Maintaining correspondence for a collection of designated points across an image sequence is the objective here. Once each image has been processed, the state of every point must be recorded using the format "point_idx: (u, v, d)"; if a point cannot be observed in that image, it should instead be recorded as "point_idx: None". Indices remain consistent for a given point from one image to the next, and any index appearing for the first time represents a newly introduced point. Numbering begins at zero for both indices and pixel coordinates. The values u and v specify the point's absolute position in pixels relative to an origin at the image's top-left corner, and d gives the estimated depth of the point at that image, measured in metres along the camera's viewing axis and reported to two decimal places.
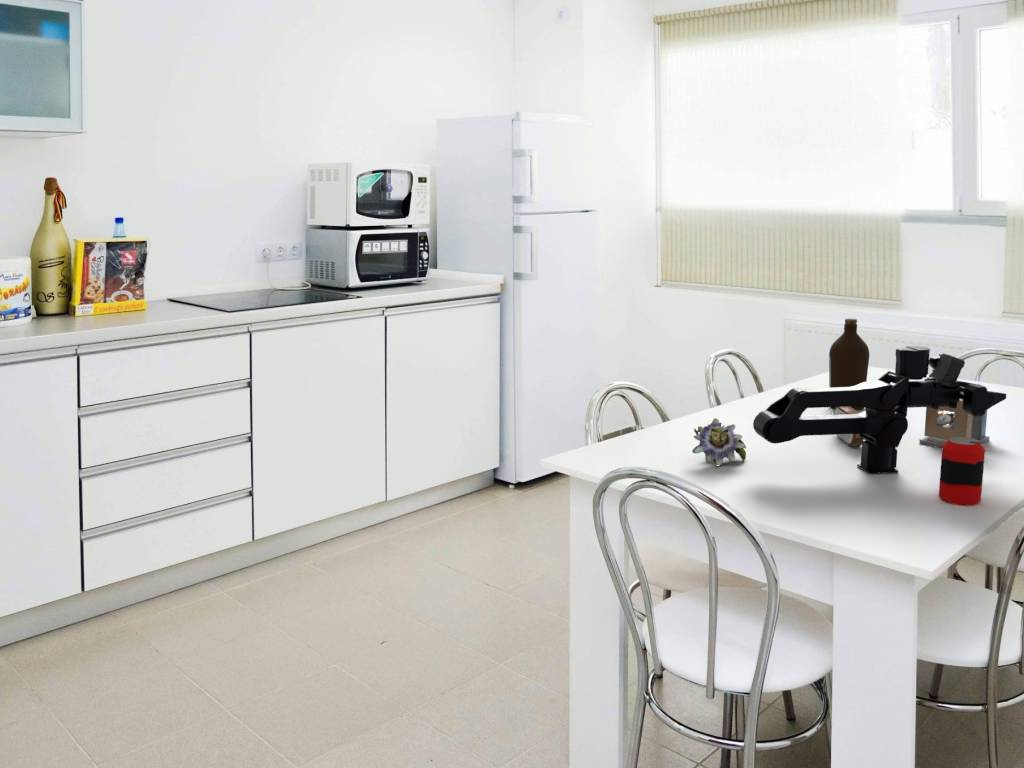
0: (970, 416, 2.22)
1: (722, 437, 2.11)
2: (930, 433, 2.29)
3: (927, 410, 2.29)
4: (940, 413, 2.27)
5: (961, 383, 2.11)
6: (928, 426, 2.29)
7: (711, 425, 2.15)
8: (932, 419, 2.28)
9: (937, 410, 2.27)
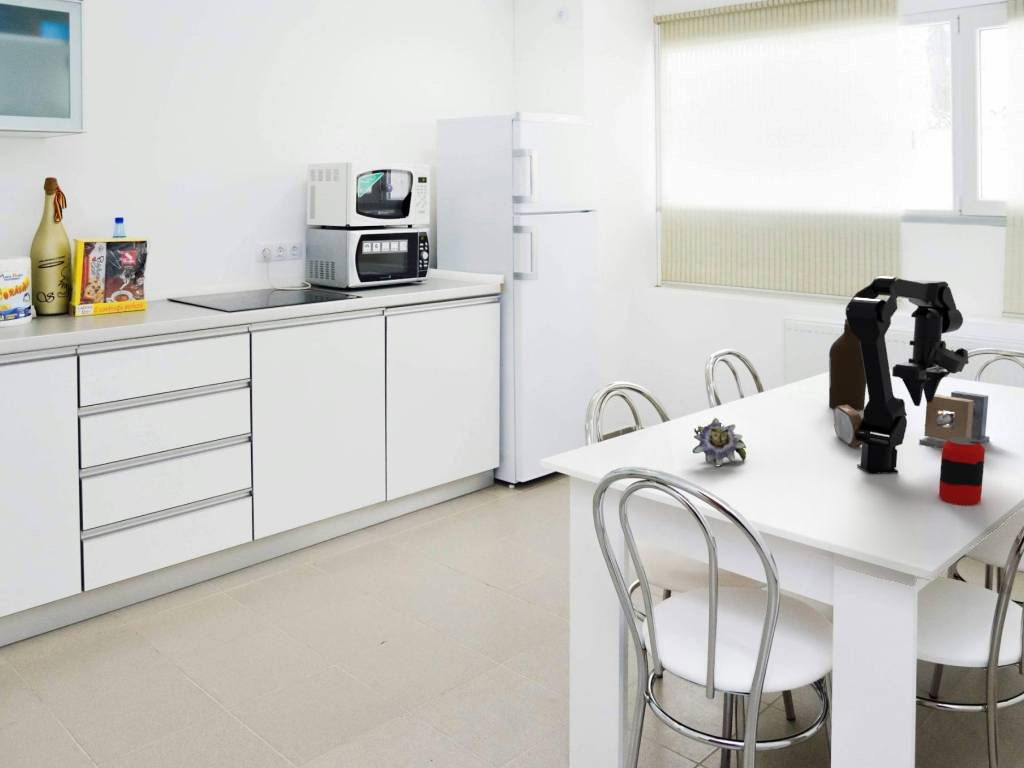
0: (970, 416, 2.22)
1: (722, 437, 2.11)
2: (930, 433, 2.29)
3: (927, 410, 2.29)
4: (940, 413, 2.27)
5: (935, 383, 2.17)
6: (928, 426, 2.29)
7: (711, 425, 2.15)
8: (932, 419, 2.28)
9: (937, 410, 2.27)
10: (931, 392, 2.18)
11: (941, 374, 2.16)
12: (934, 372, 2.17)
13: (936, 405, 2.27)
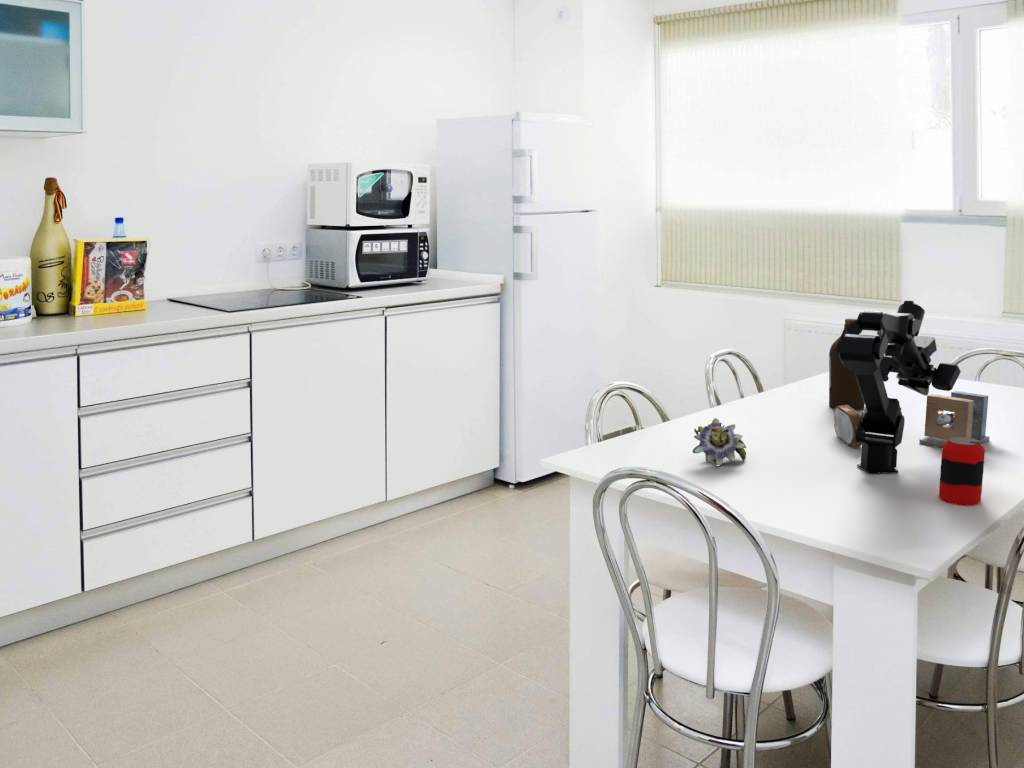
0: (970, 416, 2.22)
1: (722, 437, 2.11)
2: (930, 433, 2.29)
3: (927, 410, 2.29)
4: (940, 413, 2.27)
5: None
6: (928, 426, 2.29)
7: (711, 425, 2.15)
8: (932, 419, 2.28)
9: (937, 410, 2.27)
10: None
11: None
12: None
13: (936, 405, 2.27)
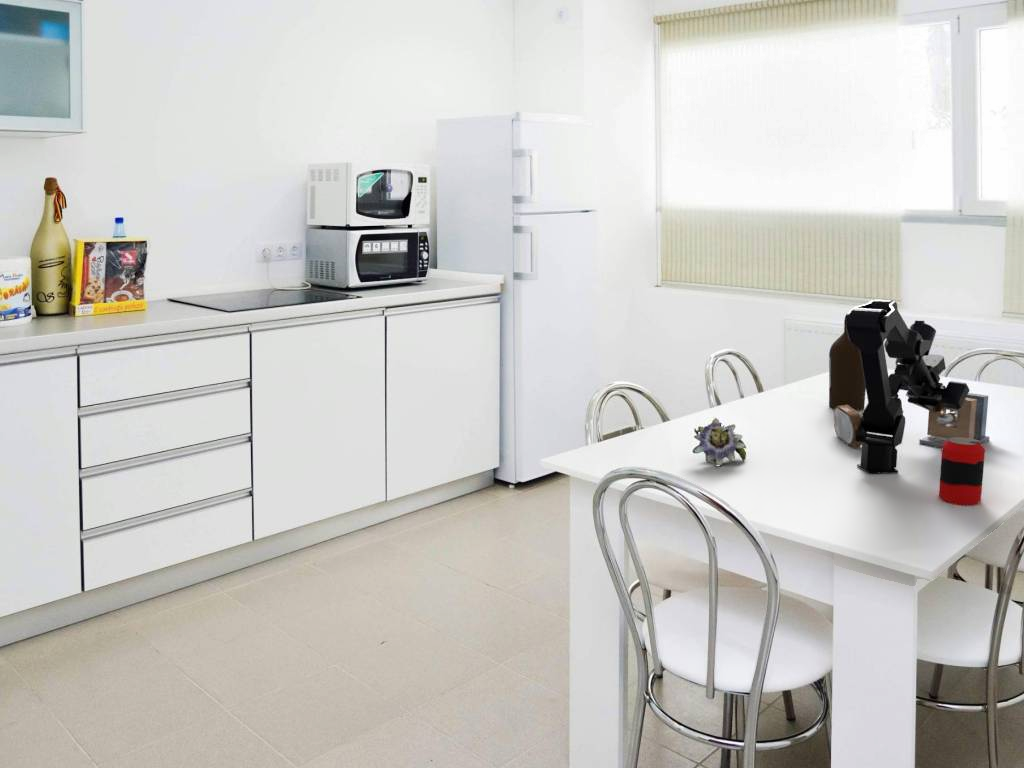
0: (973, 415, 2.23)
1: (722, 437, 2.11)
2: (933, 432, 2.30)
3: None
4: (943, 412, 2.28)
5: None
6: (931, 425, 2.30)
7: (711, 425, 2.15)
8: (935, 418, 2.29)
9: (940, 409, 2.27)
10: None
11: None
12: None
13: None
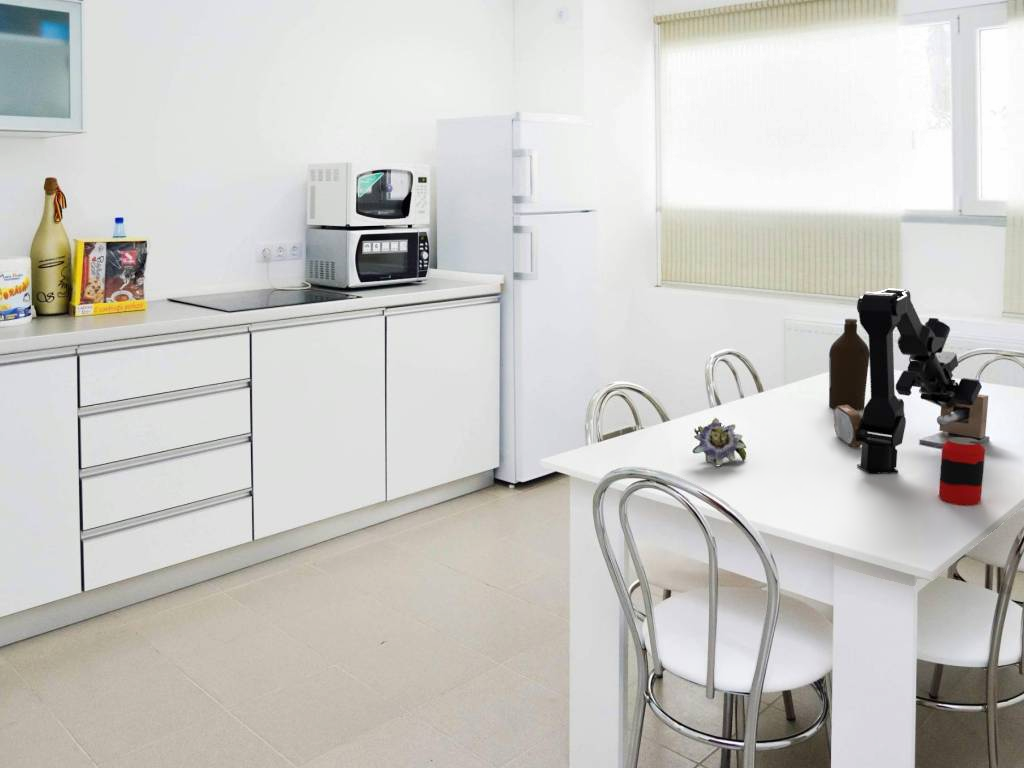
0: (985, 411, 2.27)
1: (722, 437, 2.11)
2: (945, 428, 2.33)
3: None
4: (955, 408, 2.32)
5: None
6: None
7: (711, 425, 2.15)
8: None
9: (952, 405, 2.31)
10: None
11: None
12: None
13: None
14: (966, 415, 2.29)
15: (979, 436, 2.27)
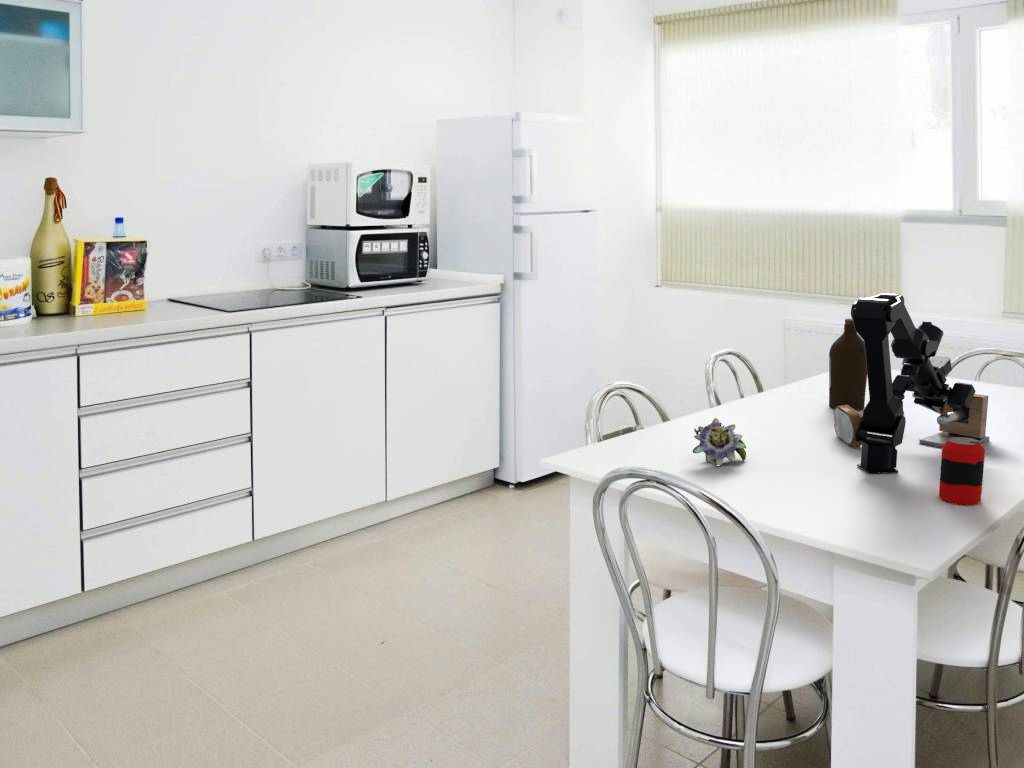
0: (984, 411, 2.27)
1: (722, 437, 2.11)
2: (945, 428, 2.33)
3: None
4: None
5: None
6: None
7: (711, 425, 2.15)
8: None
9: None
10: None
11: None
12: None
13: None
14: (966, 415, 2.29)
15: (979, 436, 2.27)
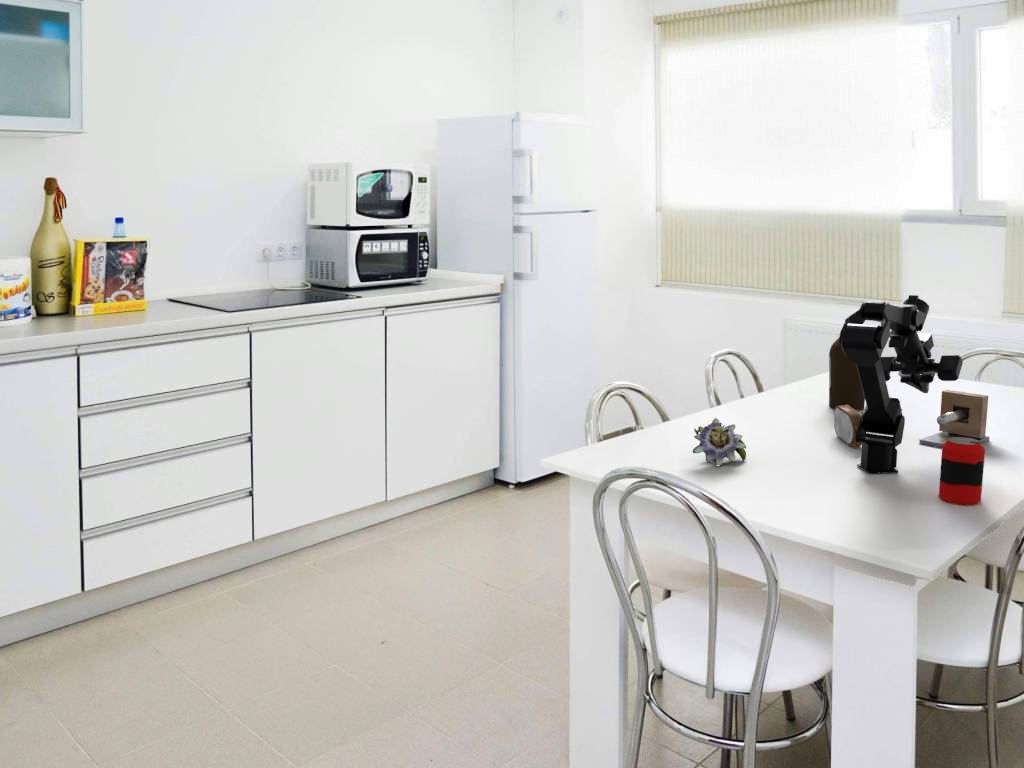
0: (984, 411, 2.27)
1: (722, 437, 2.11)
2: (945, 428, 2.33)
3: (942, 405, 2.33)
4: (955, 408, 2.32)
5: (920, 375, 2.23)
6: None
7: (711, 425, 2.15)
8: None
9: (952, 405, 2.31)
10: None
11: None
12: None
13: (950, 400, 2.31)
14: (966, 415, 2.29)
15: (979, 436, 2.27)
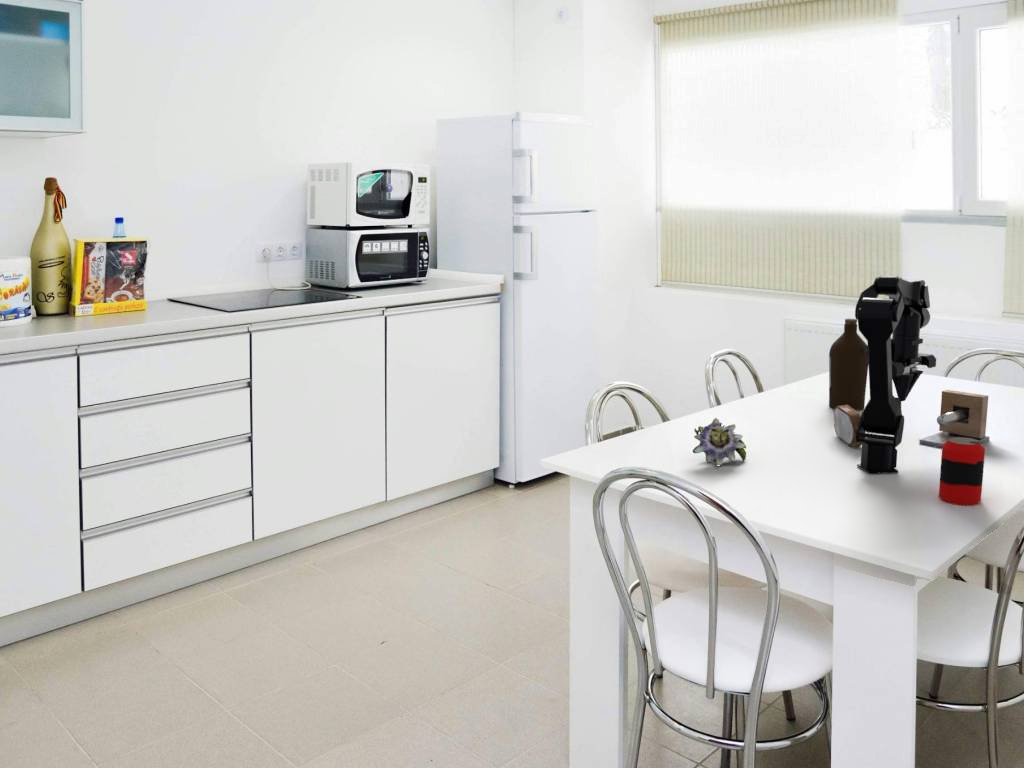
0: (984, 411, 2.27)
1: (722, 437, 2.11)
2: (945, 428, 2.33)
3: (942, 405, 2.33)
4: (955, 408, 2.32)
5: None
6: None
7: (711, 425, 2.15)
8: None
9: (952, 405, 2.31)
10: None
11: None
12: None
13: (950, 400, 2.31)
14: (966, 415, 2.29)
15: (979, 436, 2.27)
